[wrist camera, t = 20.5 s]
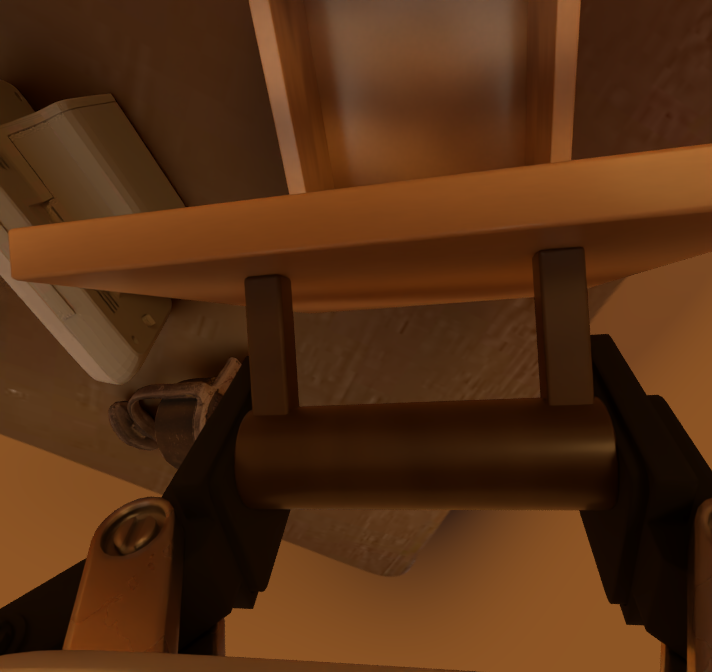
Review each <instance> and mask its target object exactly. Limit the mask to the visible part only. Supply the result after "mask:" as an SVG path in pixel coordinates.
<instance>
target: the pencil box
mask: <svg viewBox="0 0 712 672" xmlns="http://www.w3.org/2000/svg"><path fill="white" fill-rule="evenodd" d="M248 1H249V6H250V10H251V15H252V20H253V24H254V29H255V34H256V39H257V43H258V48H259V53H260V58H261V62H262V67H263V72H264V76H265V81H266V86H267V91H268V95H269V100H270V105H271V110H272V114H273V119H274V124H275V128H276V133H277V138H278V143H279V147H280V152H281V157H282V162H283V166H284V171H285V176H286V180H287V185H288V190H289V195H291V194H299V193H308V192H316V191H324V190H332V189H340V188H349V187H357V186H365V185H373V184H381V183H390V182H398V181H406V180H414V179H422V178H431V177H439V176H447V175H455V174H463V173H472V172H480V171H488V170H496V169H504V168H513V167H521V166H529V165H537V164H545V163H554V162H562V161H570V160H571V154H572V137H573V121H574V104H575V88H576V71H577V55H578V38H579V22H580V6H581V0H248Z"/></svg>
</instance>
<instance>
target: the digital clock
mask: <svg viewBox="0 0 712 672" xmlns="http://www.w3.org/2000/svg"><path fill="white" fill-rule="evenodd" d="M176 208H185V205H184V204H183V202H182V201H181V199H180V198H179V196H178V195H177V193H176V192H175V190H174V188H173V187H172V185H171V184H170V182H169V181H168V179H167V178H166V176H165V175H164V173H163V172H162V170H161V169H160V167H159V166H158V164H157V163H156V161H155V160H154V158H153V157H152V155H151V154H150V152H149V151H148V149H147V148H146V146H145V144H144V143H143V141H142V140H141V138H140V137H139V135H138V134H137V132H136V131H135V129H134V128H133V126H132V125H131V123H130V122H129V120H128V119H127V117H126V116H125V114H124V113H123V111H122V110H121V108H120V107H119V105H118V104H117V102H116V101H115V99H114V97H113V96H112V94H110V93H108V94H100V95H93V96H85V97H78V98H71V99H66V100H61V101H58V102H55V103H53V104H51V105H49V106H47V107H45V108H43V109H41V110H39V111H37V112H35V111H34V110H33V109H32V107H31V106H30V105H29V103H28V102H27V101H26V99H25V98H24V97H23V95H22V94H21V93H20V92H19V91H18V90H17V89H16V88H15V87H14V86H13V85H11V84H10V83H8V82H6V81H3V80H1V79H0V275H1V276H2V277H3V278H4V280H5V281H6V282H7V283H8V284H9V285H10V286H11V288H12V289H13V290H14V291H15V292H16V293H17V294H18V296H19V297H20V298H21V299H22V300H23V301H24V302H25V304H26V305H27V306H28V307H29V308H30V309H31V310H32V312H33V313H34V314H35V315H36V316H37V317H38V318H39V319H40V321H41V322H42V323H43V324H44V325H45V326H46V327H47V329H48V330H49V331H50V332H51V333H52V334H53V335H54V337H55V338H56V339H57V340H58V341H59V342H60V343H61V345H62V346H63V347H64V348H65V349H66V350H67V351H68V352H69V354H70V355H71V356H72V357H73V358H74V359H75V360H76V361H77V362H78V363H79V365H80V366H81V367H82V368H83V369H84V370H85V371H86V372H87V373H88V374H89V375H90V376H91V377H92V378H93V379H95V380H97V381H101V382H106V383H111V384H117V385H123V384H124V383H126V382H128V381H129V380H130V379H132V378H133V376H134V375H135V374H136V373H137V372H138V371H139V369H140V368H141V366H142V365H143V363H144V361H145V359H146V357H147V356H148V354H149V352H150V350H151V348H152V346H153V344H154V343H155V341H156V339H157V337H158V335H159V333H160V331H161V330H162V328H163V326H164V324H165V322H166V320H167V318H168V316H169V314H170V311H171V308H172V302H171V299H170V298H168V297H159V296H150V295H141V294H132V293H123V292H115V291H106V290H97V289H88V288H79V287H70V286H61V285H52V284H43V283H34V282H25V281H17V280H14V279H12V277H11V268H10V253H9V237H8V232H9V230H10V229H13V228H21V227H29V226H37V225H45V224H53V223H62V222H70V221H78V220H86V219H94V218H103V217H111V216H119V215H127V214H135V213H144V212H152V211H160V210H168V209H176Z"/></svg>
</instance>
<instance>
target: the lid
mask: <svg viewBox="0 0 712 672" xmlns="http://www.w3.org/2000/svg"><path fill="white" fill-rule="evenodd" d="M8 237H9V253H10V268H11V277H12V279H14V280H17V281H25V282H34V283H43V284H52V285H61V286H70V287H79V288H88V289H97V290H106V291H115V292H123V293H132V294H141V295H150V296H159V297H168V298H177V299H186V300H195V301H204V302H213V303H222V304H231V305H240V306H246V317H247V333H248V348H249V363H250V379H251V394H252V410H251V411H249V412H248V413H247V414H246V415H245V416H244V418H243V420H242V422H241V424H240V427H239V430H238V434H237V438H236V443H235V453H234V473H235V481H236V486H237V490H238V494H239V496H240V498H241V500H242V502H243V503H244V505H245V506H247V507H248V508H250V509H358V510H610V509H613V508H614V506H615V504H616V502H617V499H618V493H619V477H620V474H619V459H618V450H617V444H616V434H615V430H614V427H613V423H612V420H611V417H610V415H609V413H608V410H607V408H606V406H605V404H604V403H603V401H602V400H601V399H600V398H598V397H596V396H594V388H593V373H592V357H591V341H590V325H589V310H588V294H587V288H590V287H593V286H597V285H600V284H603V283H607V282H610V281H614V280H617V279H620V278H624V277H627V276H631V275H634V274H637V273H641V272H644V271H647V270H651V269H654V268H658V267H661V266H664V265H668V264H671V263H674V262H678V261H681V260H685V259H688V258H692V257H695V256H698V255H702V254H705V253H708V252H712V143H709V144H701V145H693V146H685V147H677V148H668V149H660V150H652V151H644V152H636V153H627V154H619V155H611V156H603V157H595V158H586V159H578V160H570V161H562V162H554V163H545V164H537V165H529V166H521V167H513V168H504V169H496V170H488V171H480V172H472V173H463V174H455V175H447V176H439V177H431V178H422V179H414V180H406V181H398V182H390V183H381V184H373V185H365V186H357V187H349V188H340V189H332V190H324V191H316V192H308V193H299V194H291V195H283V196H275V197H267V198H258V199H250V200H242V201H234V202H226V203H217V204H209V205H201V206H193V207H185V208H176V209H168V210H160V211H152V212H144V213H135V214H127V215H119V216H111V217H103V218H94V219H86V220H78V221H70V222H62V223H53V224H45V225H37V226H29V227H21V228H13V229H10V230H9V232H8ZM527 297H534V301H535V316H536V332H537V348H538V364H539V379H540V395H541V398H518V399H492V400H465V401H438V402H411V403H385V404H358V405H331V406H304V407H299V397H298V381H297V366H296V350H295V335H294V320H293V311H294V312H303V313H324V312H338V311H351V310H365V309H378V308H392V307H405V306H419V305H432V304H446V303H459V302H473V301H486V300H500V299H513V298H527Z"/></svg>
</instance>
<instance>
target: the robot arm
mask: <svg viewBox="0 0 712 672" xmlns="http://www.w3.org/2000/svg"><path fill="white" fill-rule="evenodd" d="M590 341H591V357H592V373H593V388H594V396H596V397H598V398H600V399H601V400H602V401H603V403H604V404H605V406H606V408H607V410H608V413H609V415H610V417H611V420H612V423H613V427H614V430H615V434H616V444H617V450H618V459H619V474H620V477H619V493H618V499H617V502H616V504H615V506H614V508H613V509H610V510H579V511H580V515H581V518H582V521H583V524H584V527H585V530H586V533H587V537H588V540H589V543H590V546H591V549H592V552H593V555H594V558H595V562H596V565H597V568H598V571H599V574H600V577H601V581H602V584H603V587H604V590H605V593H606V596H607V598H608V601H609V602H610V603H611V604H620V607H621V610H622V612H623V615H624V619H625V622H626V624H627V625H644V626H645V629H646V631H647V632H648V633H650V634H651V635H652V636H654V637H655V638H657V639H658V640H659V641H661V660H660V672H712V470H711V469H710V467H709V466H708V464H707V463H706V461H705V460H704V458H703V457H702V455H701V454H700V452H699V451H698V449H697V448H696V446H695V445H694V443H693V442H692V440H691V439H690V437H689V436H688V434H687V433H686V431H685V430H684V428H683V426H682V425H681V423H680V422H679V420H678V419H677V417H676V416H675V414H674V413H673V411H672V410H671V408H670V407H669V405H668V404H667V402H666V401H665V400H664V399H663V397H661V396H659V395H646V393H645V392H644V390H643V388H642V387H641V386H640V384H639V382H638V380H637V379H636V377H635V376H634V374H633V372H632V371H631V369H630V367H629V366H628V364H627V362H626V361H625V359H624V358H623V356H622V355H621V353H620V351H619V349H618V348H617V346H616V345H615V343H614V341H613V340H612V338H611V337H610V336H609V334H601V335H590ZM251 410H252V394H251V379H250V363H249V356H247V357H246V358H245V360H244V362H243V363H242V365H241V367H240V368H239V370H238V372H237V373H236V375H235V377H234V379H233V380H232V382H231V384H230V385H229V387H228V389H227V390H226V392H225V394H224V395H223V397H222V399H221V401H220V402H219V404H218V406H217V407H216V409H215V411H214V412H213V413H212V415H211V416H210V417H209V418H208V420H207V422H206V423H205V425H204V427H203V428H202V430H201V432H200V433H199V435H198V437H197V439H196V440H195V442H194V444H193V445H192V447H191V449H190V450H189V452H188V454H187V455H186V457H185V459H184V460H183V462H182V464H181V465H180V467H179V469H178V470H177V472H176V474H175V476H174V477H173V479H172V481H171V482H170V484H169V486H168V487H167V489H166V491H165V492H164V494H163V496H162V497H146V498H140V499H137V500H134V501H132V502H130V503H127V504H125V505H123V506H122V507H120V508H118V509H117V510H115V511H114V512H113V513H112V514H110V515H109V516H108V517H107V518H106V519H105V520H104V521H103V522H102V523H101V525H100V526H99V527H98V528H97V530H96V531H95V534H94V536H93V538H92V540H91V544H90V548H89V552H88V555H87V558H86V559H84V560H82V561H80V562H79V563H77V564H75V565H74V566H72V567H70V568H69V569H67V570H65V571H64V572H62V573H60V574H58V575H57V576H55V577H53V578H52V579H50V580H48V581H47V582H45V583H43V584H41V585H40V586H38V587H36V588H35V589H33V590H31V591H30V592H28V593H26V594H25V595H23V596H21V597H19V598H18V599H16V600H14V601H13V602H11V603H10V604H8V605H6V606H4V607H2V608H1V609H0V672H475V671H459V670H443V669H427V668H410V667H395V666H378V665H363V664H362V665H361V664H346V663H330V662H313V661H297V660H279V659H261V658H244V657H226V656H225V620H224V617H226V616H227V615H228V614H230V613H231V611H232V608H244V609H253V607H254V604H255V601H256V598H257V595H258V591H260V592H263V591H265V589H266V588H267V585H268V582H269V579H270V576H271V572H272V569H273V566H274V562H275V559H276V556H277V552H278V549H279V546H280V542H281V539H282V536H283V533H284V529H285V526H286V523H287V519H288V516H289V513H290V509H250V508H248V507H247V506H245V505H244V503H243V502H242V500H241V498H240V496H239V494H238V490H237V486H236V481H235V473H234V453H235V443H236V438H237V434H238V430H239V427H240V424H241V422H242V420H243V418H244V416H245V415H246V414H247V413H248V412H249V411H251Z"/></svg>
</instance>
